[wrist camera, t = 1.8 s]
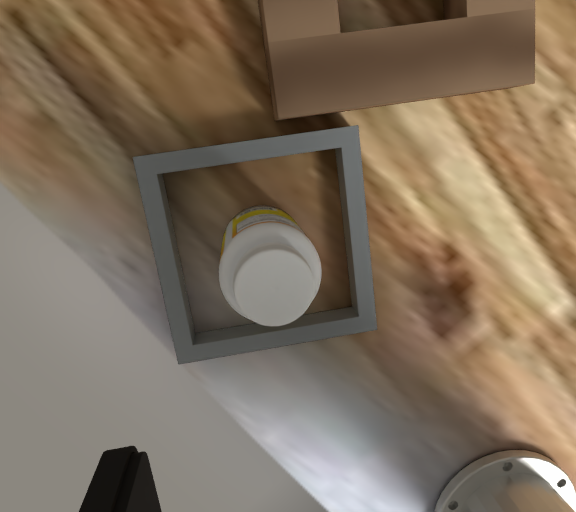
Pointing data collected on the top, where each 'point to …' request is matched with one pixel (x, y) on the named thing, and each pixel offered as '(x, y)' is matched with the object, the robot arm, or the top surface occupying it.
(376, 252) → the top surface
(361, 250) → the square frame
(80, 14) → the top surface
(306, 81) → the socket block
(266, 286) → the supplement bottle
